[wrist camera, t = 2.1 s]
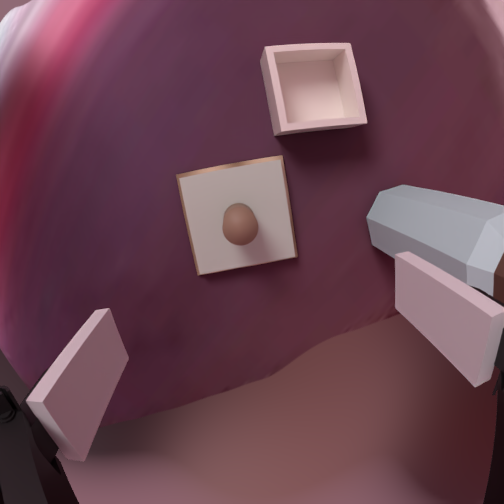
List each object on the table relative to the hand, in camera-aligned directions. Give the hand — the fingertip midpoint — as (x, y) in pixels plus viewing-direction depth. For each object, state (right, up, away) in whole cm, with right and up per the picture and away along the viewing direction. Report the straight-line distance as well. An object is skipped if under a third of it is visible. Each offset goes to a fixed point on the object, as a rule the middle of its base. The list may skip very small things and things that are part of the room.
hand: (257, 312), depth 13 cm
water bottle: (+19, +7, +27) cm, 34 cm away
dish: (+7, +22, +22) cm, 32 cm away
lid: (-2, +7, +25) cm, 26 cm away
